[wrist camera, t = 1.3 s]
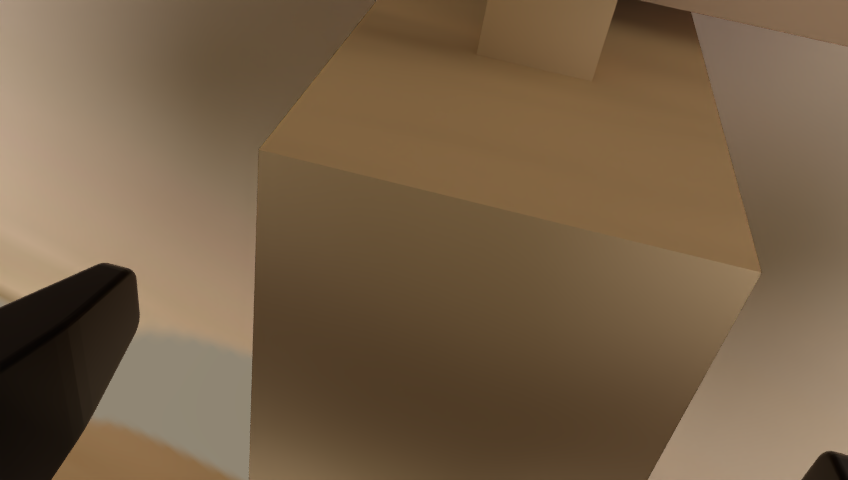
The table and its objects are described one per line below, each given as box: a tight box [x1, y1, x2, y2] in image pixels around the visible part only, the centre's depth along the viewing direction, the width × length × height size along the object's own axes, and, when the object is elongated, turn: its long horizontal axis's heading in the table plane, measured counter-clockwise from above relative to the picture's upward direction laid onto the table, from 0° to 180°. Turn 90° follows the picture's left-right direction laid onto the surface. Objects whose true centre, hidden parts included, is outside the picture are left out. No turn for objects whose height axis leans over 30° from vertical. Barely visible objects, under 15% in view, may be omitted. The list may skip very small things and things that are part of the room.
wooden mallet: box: [249, 0, 762, 480], centre depth 10 cm, size 14×5×8 cm, turn 171°
